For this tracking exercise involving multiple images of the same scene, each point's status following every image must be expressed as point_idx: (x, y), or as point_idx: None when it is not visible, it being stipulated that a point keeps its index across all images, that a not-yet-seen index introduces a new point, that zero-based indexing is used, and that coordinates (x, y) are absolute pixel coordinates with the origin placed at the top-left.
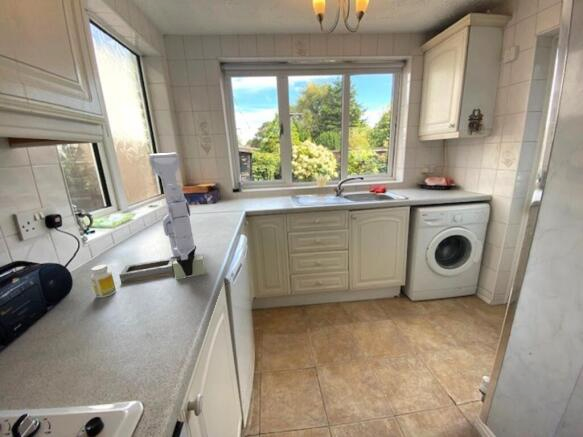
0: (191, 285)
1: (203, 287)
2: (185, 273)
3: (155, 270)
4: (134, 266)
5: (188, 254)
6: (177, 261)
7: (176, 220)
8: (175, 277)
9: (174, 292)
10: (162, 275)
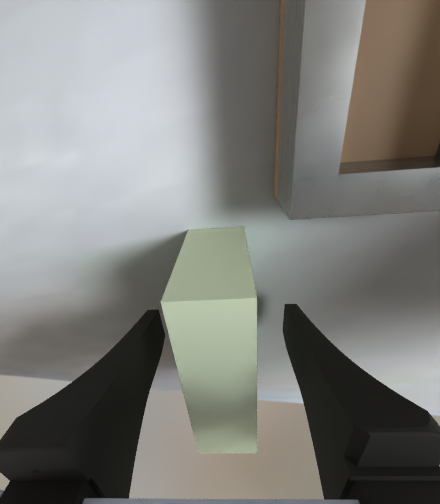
0: (95, 316)
1: (74, 357)
2: (138, 323)
3: (296, 28)
4: None
5: (317, 408)
6: (7, 431)
7: None
8: (186, 234)
9: (24, 254)
10: (278, 111)
